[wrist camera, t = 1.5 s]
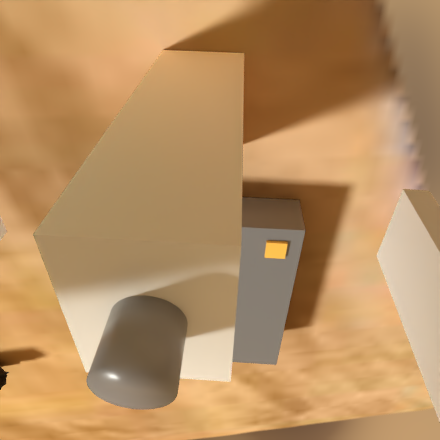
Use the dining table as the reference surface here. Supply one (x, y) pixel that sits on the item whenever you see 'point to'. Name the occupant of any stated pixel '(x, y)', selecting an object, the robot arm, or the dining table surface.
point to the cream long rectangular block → (156, 234)
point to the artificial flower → (2, 377)
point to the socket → (266, 276)
